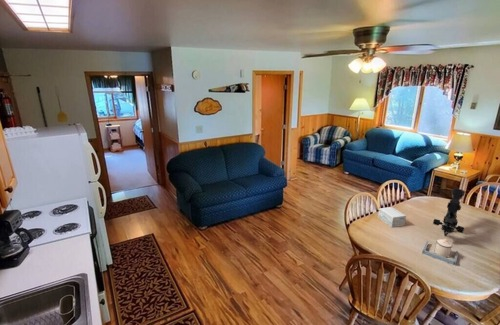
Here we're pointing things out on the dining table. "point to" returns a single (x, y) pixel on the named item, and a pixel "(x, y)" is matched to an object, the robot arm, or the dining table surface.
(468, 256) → the dining table surface
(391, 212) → the supplement box
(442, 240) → the teacup with lid
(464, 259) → the dining table surface
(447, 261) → the dock
